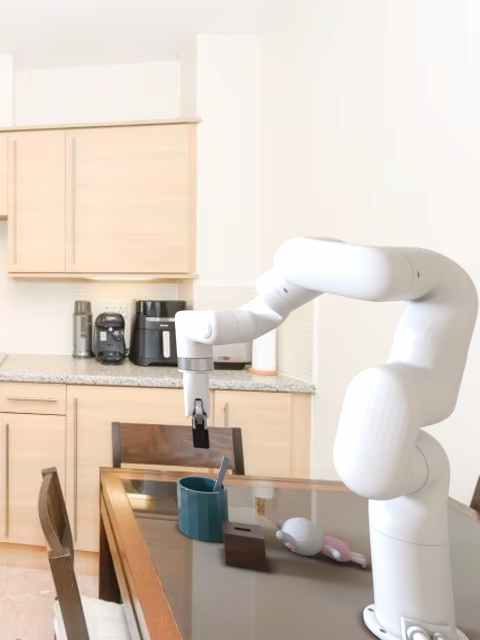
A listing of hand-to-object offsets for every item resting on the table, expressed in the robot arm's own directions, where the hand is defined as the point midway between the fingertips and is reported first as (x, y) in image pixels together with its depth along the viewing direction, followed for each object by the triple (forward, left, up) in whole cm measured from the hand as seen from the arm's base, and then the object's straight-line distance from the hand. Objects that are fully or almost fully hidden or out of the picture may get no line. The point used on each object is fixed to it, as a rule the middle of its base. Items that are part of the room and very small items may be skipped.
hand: (200, 441), depth 115 cm
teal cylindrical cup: (0, 0, -19) cm, 19 cm away
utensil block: (-11, -7, -19) cm, 23 cm away
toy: (-4, -21, -20) cm, 29 cm away
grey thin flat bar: (0, 0, -19) cm, 19 cm away
